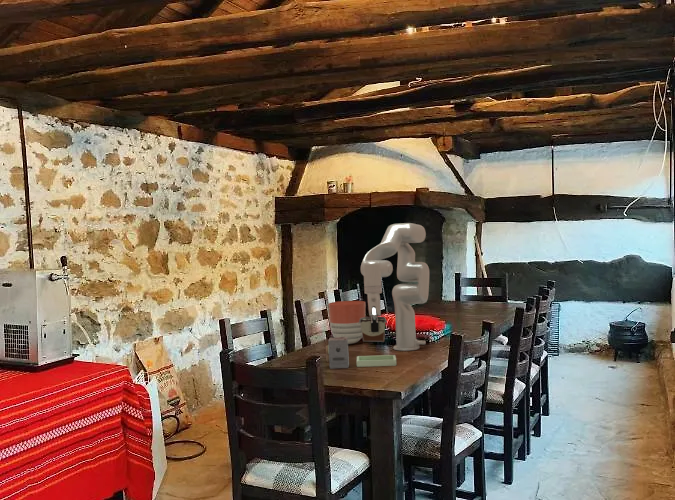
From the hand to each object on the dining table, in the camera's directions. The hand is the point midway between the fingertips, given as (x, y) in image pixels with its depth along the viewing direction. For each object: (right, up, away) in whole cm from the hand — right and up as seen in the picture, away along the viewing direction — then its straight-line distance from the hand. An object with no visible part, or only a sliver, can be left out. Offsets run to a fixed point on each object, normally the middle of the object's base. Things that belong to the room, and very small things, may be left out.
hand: (374, 330), depth 266 cm
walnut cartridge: (-19, -15, +10) cm, 26 cm away
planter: (-10, -14, +55) cm, 58 cm away
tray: (+1, -15, 0) cm, 15 cm away
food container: (0, -5, 0) cm, 5 cm away
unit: (-15, -15, -2) cm, 22 cm away
